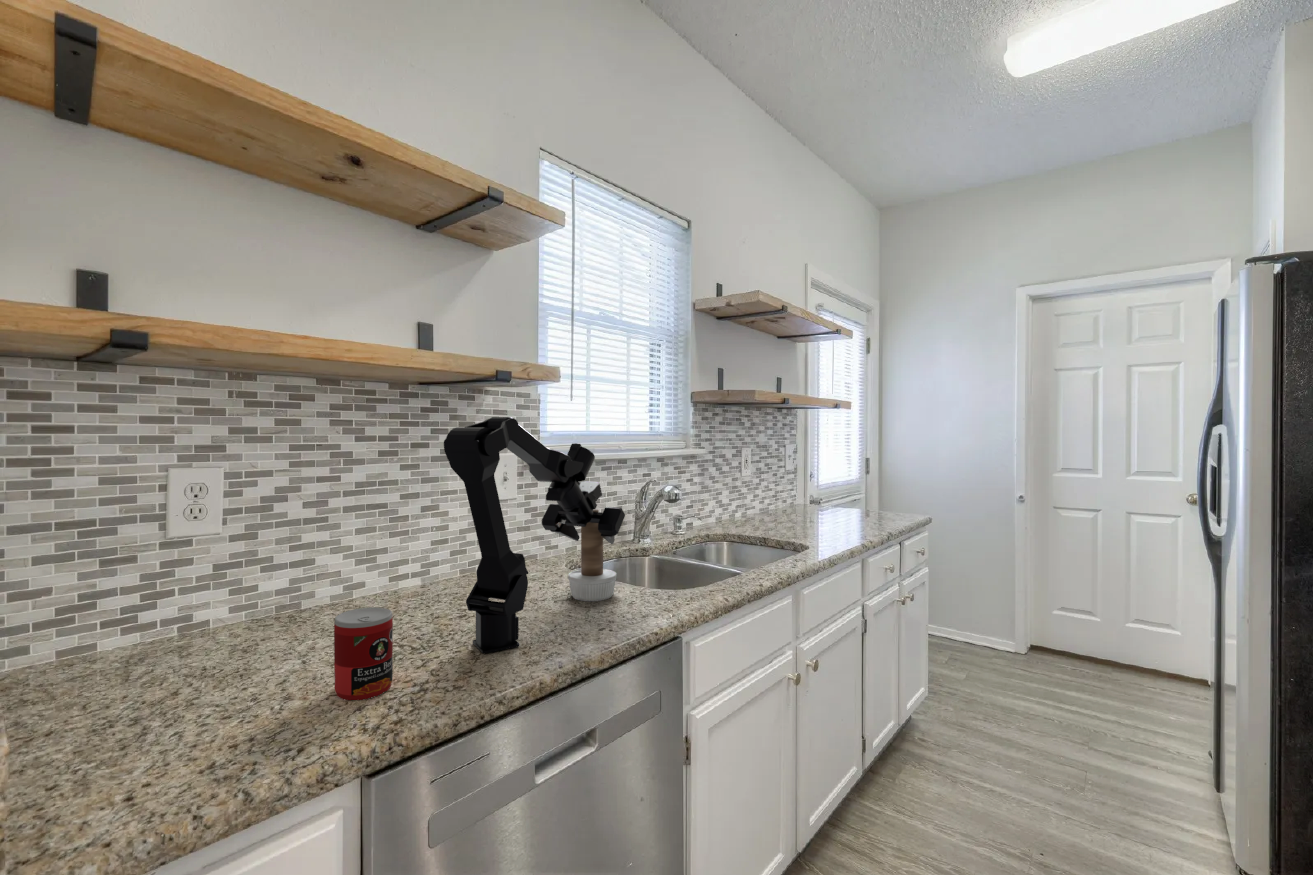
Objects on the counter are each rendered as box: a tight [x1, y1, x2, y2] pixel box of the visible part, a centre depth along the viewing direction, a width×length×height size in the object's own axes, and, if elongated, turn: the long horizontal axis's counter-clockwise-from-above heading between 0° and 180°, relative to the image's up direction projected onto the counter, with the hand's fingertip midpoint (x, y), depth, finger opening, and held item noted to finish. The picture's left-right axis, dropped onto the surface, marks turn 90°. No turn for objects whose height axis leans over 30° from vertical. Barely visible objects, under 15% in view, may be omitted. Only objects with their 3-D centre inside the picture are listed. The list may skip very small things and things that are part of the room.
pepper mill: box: [580, 508, 604, 576], centre depth 137 cm, size 5×5×15 cm
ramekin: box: [567, 568, 618, 602], centre depth 138 cm, size 11×11×5 cm
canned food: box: [333, 606, 394, 701], centre depth 88 cm, size 8×8×11 cm
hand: (595, 540), depth 139 cm, fingers open, 9 cm apart
